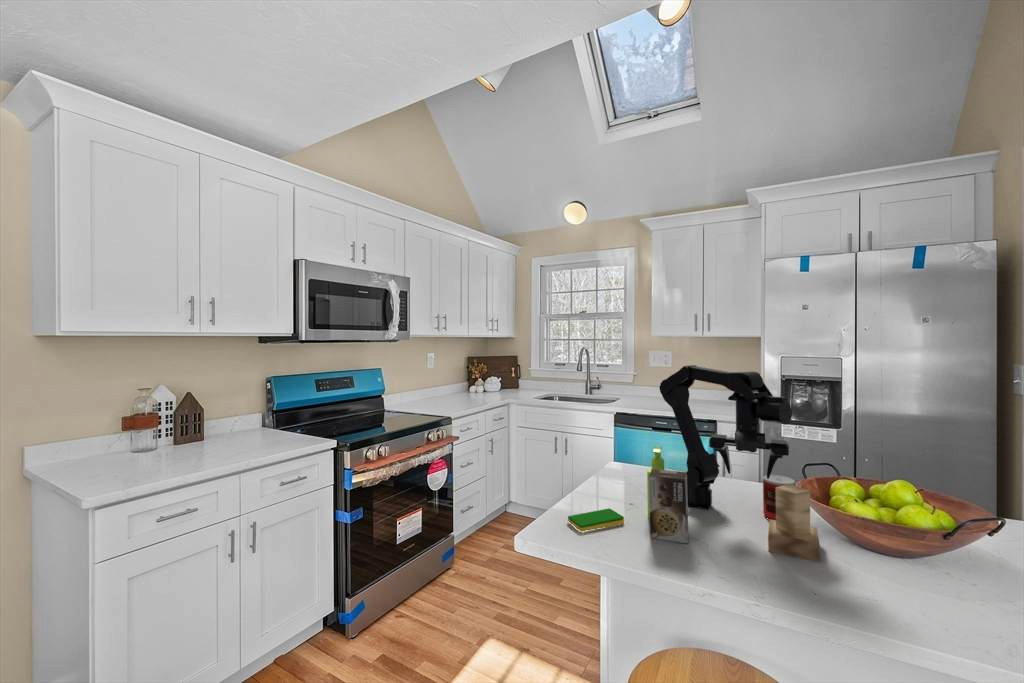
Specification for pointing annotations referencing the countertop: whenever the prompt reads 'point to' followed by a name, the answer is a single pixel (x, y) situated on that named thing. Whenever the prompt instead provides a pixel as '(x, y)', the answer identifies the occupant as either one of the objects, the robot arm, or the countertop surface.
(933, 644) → the countertop surface
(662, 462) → the soap dispenser
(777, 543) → the light wood flat block
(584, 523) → the dish sponge
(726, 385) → the robot arm
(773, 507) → the canned food
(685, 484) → the printed cardboard box
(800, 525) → the oak block
